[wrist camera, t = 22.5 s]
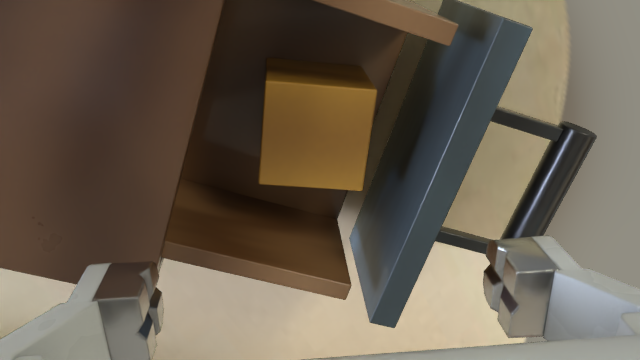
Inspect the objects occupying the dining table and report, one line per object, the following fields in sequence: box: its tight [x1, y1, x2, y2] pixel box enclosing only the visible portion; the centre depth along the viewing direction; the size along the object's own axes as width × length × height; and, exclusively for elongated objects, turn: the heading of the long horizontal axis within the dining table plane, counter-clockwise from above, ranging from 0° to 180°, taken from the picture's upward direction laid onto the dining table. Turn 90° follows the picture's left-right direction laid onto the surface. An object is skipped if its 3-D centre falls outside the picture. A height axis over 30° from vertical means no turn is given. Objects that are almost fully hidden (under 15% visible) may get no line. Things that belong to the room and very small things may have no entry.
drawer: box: [161, 0, 597, 328], centre depth 24 cm, size 20×13×7 cm
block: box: [258, 58, 377, 191], centre depth 24 cm, size 4×4×4 cm
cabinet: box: [0, 0, 226, 284], centre depth 22 cm, size 15×15×9 cm
